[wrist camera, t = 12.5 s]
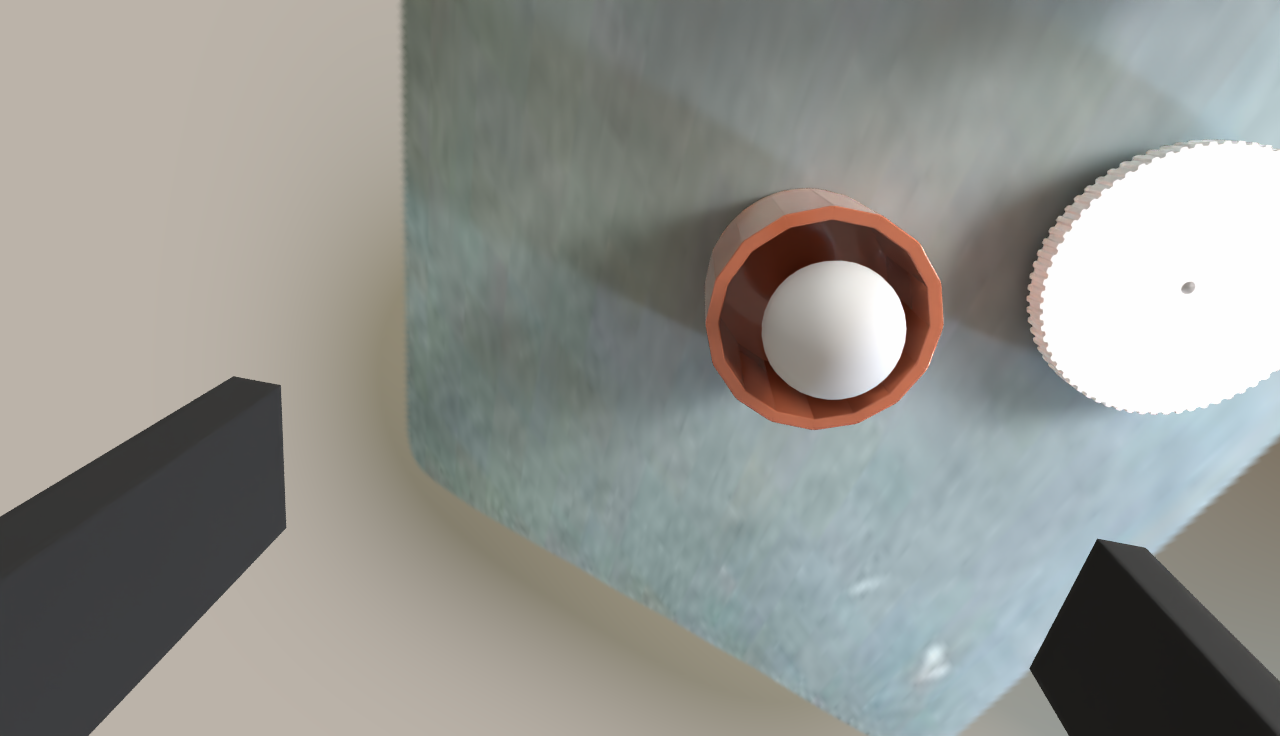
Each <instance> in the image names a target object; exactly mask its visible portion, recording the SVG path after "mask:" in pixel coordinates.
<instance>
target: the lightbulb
mask: <svg viewBox="0 0 1280 736" xmlns="http://www.w3.org/2000/svg"><path fill="white" fill-rule="evenodd" d="M905 338H906V320H905V314H904V310H903V307H902V305H901V302H900V299H899V297H898V296H897V294H896V292H895V291H894V289H893V288H892V287H891V286H890V285H889V284H888V283H887V282H886V281H885V280H884V279H883V278H882V277H881V276H880V275H879V274H877V273H876V272H874V271H872V270H871V269H869V268H867V267H865V266H862V265H860V264H857V263H853V262H847V261H824V262H819V263H815V264H811V265H809V266H806V267H804V268H801V269H799V270H798V271H796V272H795V273H793V274H792V275H790V276H789V277H788V278H786V279H785V280H784V281H783V282H782V283H781V284H780V285H779V286H778V288H777V289H776V291H775V292H774V294H773V295H772V296H771V298H770V300H769V302H768V305H767V307H766V309H765V312H764V316H763V320H762V341H763V346H764V350H765V354H766V356H767V358H768V361H769V363H770V365H771V366H772V368H773V369H774V370H775V372H776V373H777V375H779V376H780V377H781V378H782V379H783V380H784V381H785V382H786V383H787V384H788V385H789V386H791V387H793V388H794V389H796V390H797V391H799V392H801V393H804V394H806V395H809V396H812V397H815V398H821V399H827V400H839V399H846V398H851V397H855V396H858V395H860V394H863V393H865V392H867V391H869V390H871V389H872V388H874V387H876V386H877V385H878V384H879V383H881V382H882V381H883V380H884V379H885V378H886V377H887V376H888V375H889V374H890V373H891V371H892V370H893V369H894V368H895V366H896V364H897V362H898V360H899V358H900V357H901V353H902V350H903V347H904V344H905Z"/></svg>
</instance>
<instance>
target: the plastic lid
mask: <svg viewBox="0 0 1280 736" xmlns="http://www.w3.org/2000/svg"><path fill="white" fill-rule="evenodd" d="M1095 181H1096V183H1095V184H1094V185H1093V186H1090V185H1088V186H1087V187H1086V188H1085V189H1084V191H1085V192H1084V193H1083V194H1082V195H1077V196H1076V197H1075V198H1074V201H1075V202H1074V203H1073V204H1072V205H1071V206H1070V205H1067V207H1066V208H1065V209H1064V210H1065V213H1064V215H1063V216H1058V218H1057V219H1056V221H1057V224H1056V225H1055V227H1051V228H1050V229H1049V231H1048V232H1049V233H1050V235H1049V237H1048V238H1044V240H1043V242H1042V244H1044V246H1043V248H1042V249H1041V250H1038V252H1037V255H1038V256H1039V257H1038V260H1037V261H1034V263H1033V267H1034V268H1035V269H1034V272H1033V273H1030V277H1029V278H1030V279H1032V282H1031V284H1029V285H1028V288H1027V289H1028V290H1029V291H1030V295H1028V296H1027V301H1028V302H1030V306H1028V307H1027V312H1028V313H1030V317H1029V318H1028V322H1029V323H1030V324H1032V327H1031V328H1030V332H1031V333H1032V334H1034V335H1035V337H1034V338H1033V340H1034V342H1035V343H1036V344H1038V345H1039V347H1038V348H1037V349H1038V351H1039V352H1040V353H1042V354H1043V356H1042V358H1043V359H1044V360H1045V361H1046V362H1048V363H1049V364H1048V366H1049V367H1050V368H1051V369H1053V370H1054V371H1055V373H1056V374H1057V375H1058V376H1060V377H1061V378H1062V379H1063V380H1064V381H1066V382H1067V383H1068V384H1070V385H1071V386H1072V387H1074V388H1075V389H1076V390H1078V391H1079V392H1081V393H1082V394H1084V395H1085V396H1086V397H1088V398H1091V399H1093V400H1094V401H1095V402H1097V403H1102V404H1104V405H1105V406H1107V407H1111V406H1112V407H1114V408H1115V409H1116V410H1120V411H1121V410H1122V409H1124V410H1125V411H1127V412H1129V413H1133V412H1134V411H1136V412H1137V413H1139V414H1145V413H1146V412H1148V413H1150V414H1151V415H1157V413H1158V412H1161V413H1162V414H1164V415H1167V414H1170V412H1172V411H1174V412H1175V413H1182V412H1183V410H1188V411H1194V410H1195V409H1196V408H1197V407H1201V408H1206V407H1208V405H1209V404H1211V403H1214V404H1219V403H1221V400H1222V399H1225V398H1226V399H1228V400H1229V399H1231V398H1233V396H1234V394H1236V393H1240V394H1242V393H1244V392H1246V388H1248V387H1250V386H1251V387H1255V386H1256V385H1258V381H1260V380H1261V379H1264V380H1266V379H1267V378H1269V377H1270V375H1269V374H1270V373H1271V372H1273V371H1276V372H1277V371H1278V370H1279V369H1280V149H1273V148H1272V146H1270V145H1259V143H1255V142H1245V141H1232V140H1208V139H1205V140H1202V141H1199V140H1191V141H1188V143H1186V142H1177V143H1174V145H1173V146H1170V145H1164V146H1161V147H1160V150H1153V149H1151V150H1149V151H1147V152H1146V155H1136V156H1134V157H1133V160H1132V161H1130V162H1129V161H1124V162H1122V163H1120V167H1119V168H1117V169H1114V168H1112V169H1110V170H1109V171H1107V175H1106V176H1105V177H1101V176H1100V177H1098V178H1097V179H1096V180H1095Z"/></svg>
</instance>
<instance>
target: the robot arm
mask: <svg viewBox="0 0 1280 736" xmlns="http://www.w3.org/2000/svg"><path fill="white" fill-rule="evenodd" d="M285 529H286V511H285V486H284V459H283V432H282V407H281V385H277V384H271V383H265V382H260V381H255V380H250V379H245V378H239V377H232V378H230V379H228V380H227V381H225V382H223V383H222V384H220V385H218V386H217V387H215V388H213V389H212V390H210V391H208V392H207V393H205V394H203V395H202V396H200V397H199V398H197V399H195V400H194V401H192V402H190V403H189V404H187V405H185V406H183V407H182V408H180V409H179V410H177V411H175V412H174V413H172V414H170V415H168V416H167V417H165V418H164V419H162V420H160V421H159V422H157V423H155V424H154V425H152V426H150V427H149V428H147V429H146V430H144V431H142V432H140V433H139V434H137V435H135V436H134V437H132V438H130V439H129V440H127V441H125V442H124V443H122V444H120V445H119V446H117V447H115V448H114V449H112V450H110V451H109V452H107V453H105V454H104V455H102V456H100V457H99V458H97V459H95V460H94V461H92V462H91V463H89V464H87V465H86V466H84V467H82V468H80V469H79V470H77V471H75V472H74V473H72V474H71V475H69V476H67V477H65V478H64V479H62V480H61V481H59V482H57V483H56V484H54V485H52V486H51V487H49V488H47V489H46V490H44V491H42V492H41V493H39V494H37V495H36V496H34V497H32V498H31V499H29V500H27V501H26V502H24V503H22V504H21V505H19V506H17V507H16V508H14V509H12V510H11V511H9V512H7V513H6V514H4V515H2V516H1V517H0V736H89V734H90V733H91V732H92V731H93V730H94V729H95V728H96V727H97V726H98V725H99V724H100V723H101V722H102V721H103V720H104V719H105V718H106V717H107V716H108V715H109V713H110V712H111V711H112V710H113V709H114V708H115V707H116V706H117V705H118V704H119V703H120V702H121V701H122V700H123V699H124V698H125V696H126V695H127V694H128V693H129V692H130V691H131V690H132V689H133V688H134V687H135V686H136V685H137V684H138V683H139V682H140V681H141V680H142V679H143V678H144V677H145V676H146V675H147V674H148V672H149V671H150V670H151V669H152V668H153V667H154V666H155V665H156V664H157V663H158V662H159V661H160V660H161V659H162V658H163V657H164V656H165V655H166V653H168V651H169V650H170V649H171V648H172V647H173V646H174V645H175V644H176V643H177V642H178V641H179V640H180V639H181V638H182V636H184V635H185V634H186V632H188V630H189V629H190V628H191V627H192V626H193V625H194V624H195V623H196V622H197V621H198V620H199V619H200V618H201V617H202V616H203V614H205V613H206V612H207V610H208V609H209V608H210V607H211V606H212V605H213V604H214V603H215V602H216V601H217V600H218V599H219V598H220V597H221V596H222V595H223V594H224V593H225V592H226V590H227V589H228V588H229V587H230V586H231V585H232V584H233V583H234V582H235V581H236V580H237V579H238V578H239V577H240V576H241V575H242V574H243V573H244V571H246V569H247V568H248V567H249V566H250V565H251V564H252V563H253V562H254V561H255V560H256V559H257V558H258V557H259V556H260V555H261V554H262V553H263V552H264V550H266V548H267V547H268V546H269V545H270V544H271V543H272V542H273V541H274V540H275V539H276V538H277V537H278V536H279V535H280V534H281V533H282V532H283V531H284V530H285ZM1029 669H1030V670H1031V672H1032V674H1033V675H1034V677H1035V679H1036V680H1037V682H1038V684H1039V686H1040V687H1041V689H1042V691H1043V692H1044V694H1045V696H1046V697H1047V699H1048V701H1049V703H1050V704H1051V706H1052V708H1053V709H1054V711H1055V713H1056V714H1057V716H1058V718H1059V720H1060V721H1061V723H1062V725H1063V726H1064V728H1065V730H1066V731H1067V733H1068V735H1069V736H1280V681H1279V680H1278V679H1276V677H1275V676H1274V675H1273V674H1272V673H1271V672H1269V671H1268V669H1266V667H1264V666H1263V664H1262V663H1260V662H1259V660H1257V659H1256V658H1255V657H1254V656H1253V655H1252V654H1251V653H1250V652H1249V651H1248V650H1247V649H1246V648H1245V647H1244V646H1243V645H1242V644H1241V643H1240V642H1239V641H1238V640H1237V639H1236V638H1235V637H1234V636H1233V635H1232V634H1231V633H1230V632H1229V631H1228V630H1227V629H1226V628H1225V627H1224V626H1223V625H1222V624H1221V623H1220V622H1219V621H1218V620H1217V619H1216V618H1215V617H1214V616H1213V615H1212V614H1211V613H1210V612H1209V611H1208V610H1207V609H1206V608H1205V607H1204V606H1203V605H1202V604H1201V603H1200V602H1199V601H1198V600H1197V599H1196V598H1195V597H1194V596H1193V595H1192V594H1191V593H1190V592H1189V591H1188V590H1187V589H1186V588H1185V587H1184V586H1183V585H1182V584H1181V583H1180V582H1179V581H1178V580H1177V579H1176V578H1175V577H1174V576H1173V575H1172V574H1171V573H1170V572H1169V571H1168V570H1167V569H1166V568H1165V567H1164V566H1163V565H1162V564H1161V563H1160V562H1159V561H1158V560H1157V559H1156V558H1155V557H1154V556H1153V555H1152V554H1151V553H1150V552H1149V551H1148V550H1147V549H1146V548H1144V547H1138V546H1133V545H1128V544H1122V543H1117V542H1112V541H1106V540H1101V539H1097V540H1096V542H1095V544H1094V546H1093V548H1092V550H1091V552H1090V554H1089V556H1088V558H1087V560H1086V561H1085V563H1084V565H1083V567H1082V569H1081V571H1080V573H1079V575H1078V577H1077V579H1076V581H1075V582H1074V584H1073V586H1072V588H1071V590H1070V592H1069V594H1068V596H1067V598H1066V600H1065V602H1064V603H1063V605H1062V607H1061V609H1060V611H1059V613H1058V615H1057V617H1056V619H1055V621H1054V623H1053V625H1052V626H1051V628H1050V630H1049V632H1048V634H1047V636H1046V638H1045V640H1044V642H1043V644H1042V646H1041V647H1040V649H1039V651H1038V653H1037V655H1036V657H1035V659H1034V661H1033V663H1032V665H1031V667H1030V668H1029Z"/></svg>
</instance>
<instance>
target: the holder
mask: <svg viewBox="0 0 1280 736" xmlns="http://www.w3.org/2000/svg"><path fill="white" fill-rule="evenodd" d="M824 261H847V262H853V263H857V264H860V265H862V266H865V267H867V268H869V269H871V270H872V271H874V272H876V273H877V274H879V275H880V276H881V277H882V278H883V279H884V280H885V281H886V282H887V283H888V284H889V285H890V286H891V287H892V288H893V289H894V291H895V292H896V294H897V296H898V297H899V299H900V302H901V305H902V307H903V310H904V314H905V320H906V338H905V344H904V347H903V350H902V353H901V357H900V358H899V360H898V362H897V364H896V366H895V368H894V369H893V370H892V371H891V373H890V374H889V375H888V376H887V377H886V378H885V379H884V380H883V381H882V382H881V383H879V384H878V385H877V386H876V387H874V388H872V389H871V390H869V391H867V392H865V393H863V394H860V395H858V396H855V397H851V398H846V399H839V400H827V399H821V398H815V397H812V396H809V395H806V394H804V393H801V392H799V391H797V390H796V389H794V388H793V387H791V386H789V385H788V384H787V383H786V382H785V381H784V380H783V379H782V378H781V377H780V376H779V375H777V373H776V372H775V370H774V369H773V368H772V366H771V365H770V363H769V361H768V358H767V356H766V354H765V350H764V346H763V341H762V320H763V316H764V312H765V309H766V307H767V305H768V302H769V300H770V298H771V296H772V295H773V294H774V292H775V291H776V289H777V288H778V286H779V285H780V284H781V283H782V282H783V281H784V280H785V279H786V278H788V277H789V276H790V275H792V274H793V273H795V272H796V271H798V270H799V269H801V268H804V267H806V266H809V265H811V264H815V263H819V262H824ZM705 325H706V330H707V336H708V341H709V347H710V352H711V358H712V363H713V366H714V367H715V369H716V370H717V371H718V373H719V374H720V376H721V377H722V379H723V380H724V382H725V383H726V385H727V386H728V388H729V389H730V391H731V392H732V394H733V395H734V397H735V398H737V400H739V401H740V402H742V403H743V404H745V405H747V406H748V407H750V408H751V409H753V410H754V411H756V412H757V413H759V414H760V415H762V416H763V417H765V418H766V419H768V420H770V421H772V422H776V423H781V424H786V425H791V426H796V427H800V428H805V429H810V430H818V429H825V428H831V427H838V426H845V425H852V424H856V423H860V422H861V421H863V420H865V419H867V418H869V417H871V416H873V415H875V414H877V413H878V412H880V411H882V410H884V409H886V408H888V407H890V406H892V405H894V404H896V402H898V401H899V400H900V399H901V398H902V397H903V396H904V395H905V393H906V392H907V391H908V390H909V389H910V388H911V387H912V386H913V385H914V383H915V382H916V381H917V380H918V379H919V378H920V377H921V376H922V375H923V374H924V372H925V371H926V370H927V368H928V367H929V364H930V362H931V359H932V356H933V354H934V351H935V348H936V346H937V343H938V340H939V338H940V335H941V332H942V330H943V326H944V323H943V306H942V288H941V281H940V279H939V277H938V275H937V273H936V272H935V270H934V268H933V266H932V264H931V262H930V261H929V259H928V257H927V255H926V253H925V251H924V250H923V248H922V246H921V244H920V243H919V242H918V241H917V240H916V239H914V238H913V237H911V236H910V235H909V234H907V233H906V232H904V231H903V230H902V229H900V228H899V227H898V226H896V225H895V224H893V223H892V222H891V221H889V220H888V219H886V218H885V217H884V216H882V215H880V214H879V213H877V212H875V211H873V210H872V209H870V208H868V207H866V206H865V205H863V204H861V203H859V202H858V201H856V200H854V199H852V198H851V197H849V196H846V195H842V194H838V193H834V192H831V191H827V190H822V189H814V188H798V189H791V190H785V191H781V192H778V193H774V194H772V195H769V196H767V197H764V198H762V199H760V200H758V201H757V202H755V203H753V204H751V205H750V206H749V207H747V208H746V209H745V210H743V211H742V212H741V213H739V214H738V215H737V216H736V217H735V218H734V219H733V220H732V221H731V222H730V224H729V225H728V226H727V227H726V229H725V230H724V231H723V233H722V234H721V236H720V238H719V239H718V241H717V243H716V245H715V247H714V248H713V251H712V254H711V257H710V261H709V264H708V270H707V276H706V281H705Z"/></svg>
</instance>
